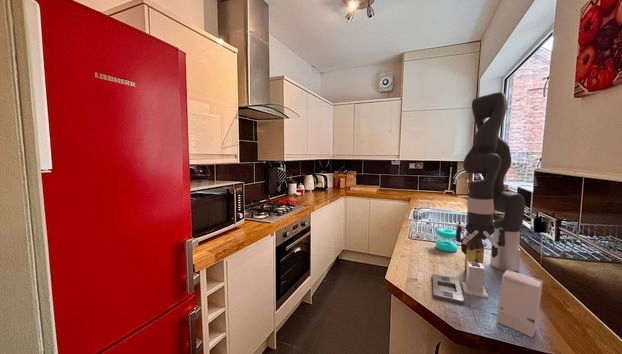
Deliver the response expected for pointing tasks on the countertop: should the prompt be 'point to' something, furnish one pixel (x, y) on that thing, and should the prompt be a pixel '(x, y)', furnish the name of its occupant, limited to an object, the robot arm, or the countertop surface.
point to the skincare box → (519, 302)
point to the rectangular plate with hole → (445, 294)
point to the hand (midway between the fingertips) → (478, 254)
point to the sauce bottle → (474, 252)
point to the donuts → (446, 245)
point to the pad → (474, 292)
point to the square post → (475, 277)
